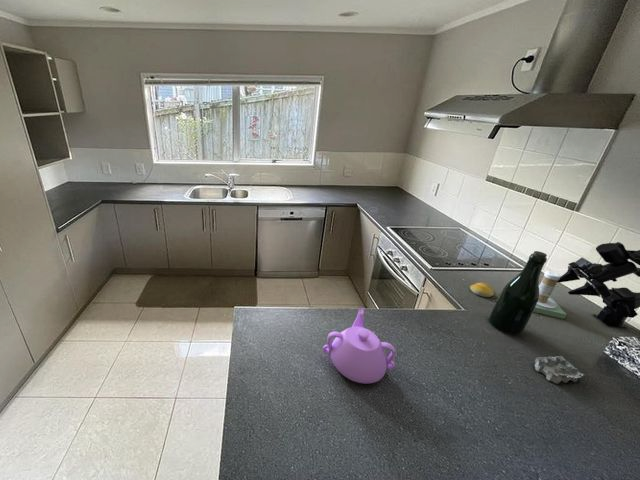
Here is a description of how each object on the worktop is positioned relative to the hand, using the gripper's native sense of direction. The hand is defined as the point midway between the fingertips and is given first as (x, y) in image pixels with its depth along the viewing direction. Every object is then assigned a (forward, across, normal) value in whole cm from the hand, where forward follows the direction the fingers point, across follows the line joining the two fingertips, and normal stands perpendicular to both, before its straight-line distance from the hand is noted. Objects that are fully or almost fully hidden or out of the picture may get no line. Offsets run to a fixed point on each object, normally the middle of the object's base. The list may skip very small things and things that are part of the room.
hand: (562, 287), depth 117 cm
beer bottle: (+24, +22, -8) cm, 34 cm away
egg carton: (+19, +42, -3) cm, 46 cm away
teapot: (+62, +64, -46) cm, 100 cm away
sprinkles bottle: (+9, 0, +2) cm, 10 cm away
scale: (+12, 0, +4) cm, 12 cm away
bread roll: (+26, -1, -10) cm, 27 cm away
